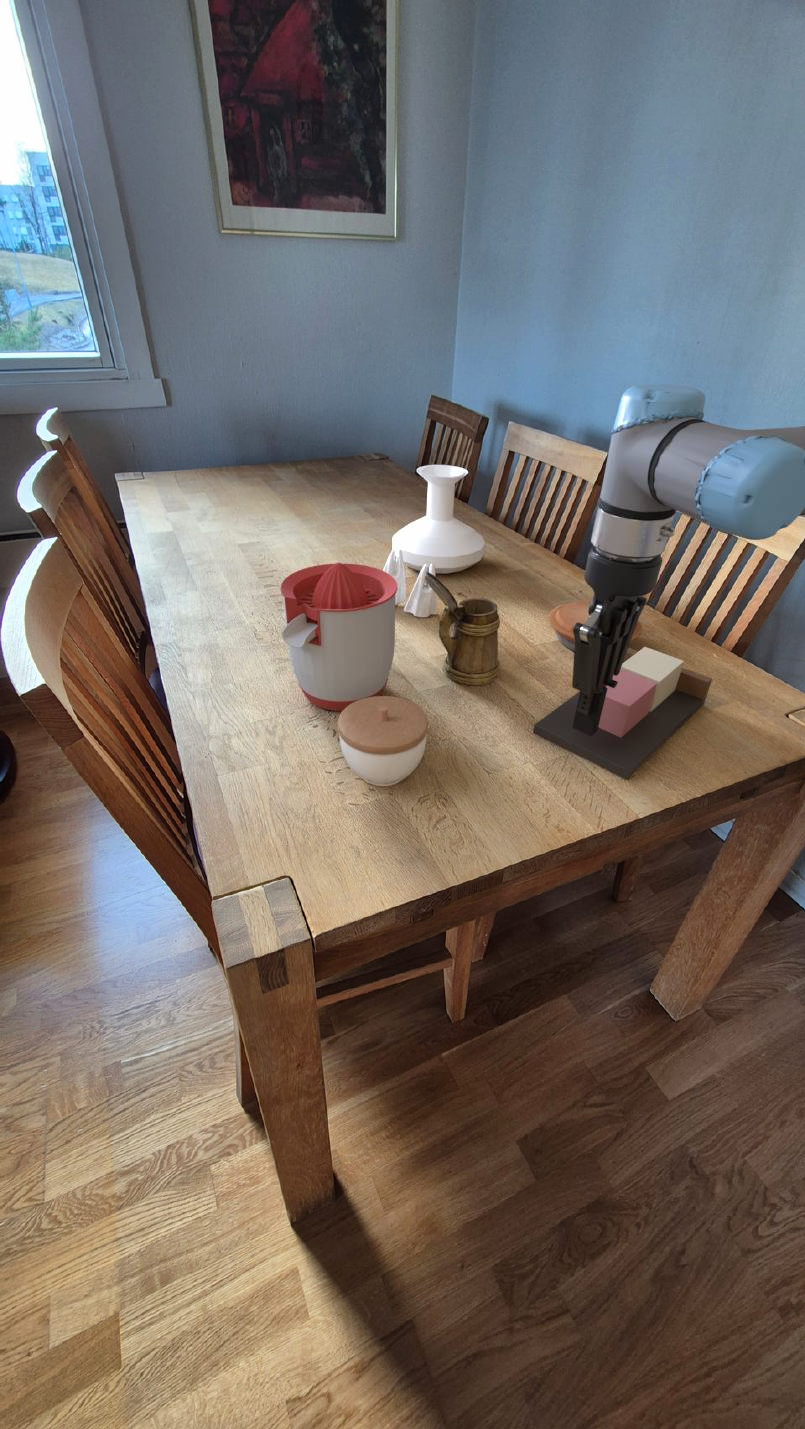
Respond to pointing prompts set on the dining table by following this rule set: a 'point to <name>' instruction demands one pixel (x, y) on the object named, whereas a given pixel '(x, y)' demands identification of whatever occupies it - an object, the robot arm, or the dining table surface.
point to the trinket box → (382, 738)
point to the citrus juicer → (340, 631)
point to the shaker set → (421, 594)
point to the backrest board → (639, 740)
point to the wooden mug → (468, 637)
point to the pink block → (626, 703)
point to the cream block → (655, 672)
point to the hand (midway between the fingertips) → (584, 729)
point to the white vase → (439, 528)
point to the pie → (569, 615)
